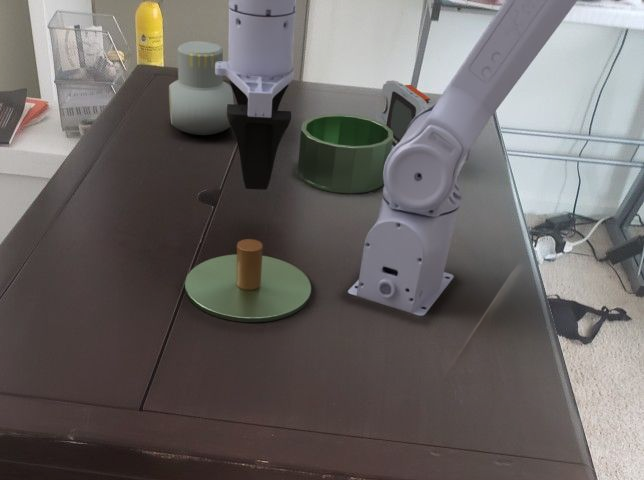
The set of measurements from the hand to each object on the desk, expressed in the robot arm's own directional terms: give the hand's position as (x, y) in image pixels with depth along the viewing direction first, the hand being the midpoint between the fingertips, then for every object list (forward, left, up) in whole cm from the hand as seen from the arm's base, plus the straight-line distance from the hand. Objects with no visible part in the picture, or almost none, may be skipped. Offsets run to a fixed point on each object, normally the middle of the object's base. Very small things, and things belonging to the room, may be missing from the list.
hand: (256, 171), depth 73 cm
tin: (+24, +1, -8) cm, 26 cm away
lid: (-8, -4, -8) cm, 12 cm away
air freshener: (+27, +24, -8) cm, 37 cm away
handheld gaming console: (+35, -3, -9) cm, 37 cm away
